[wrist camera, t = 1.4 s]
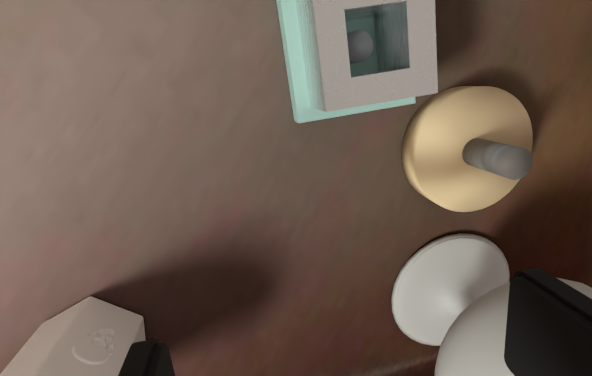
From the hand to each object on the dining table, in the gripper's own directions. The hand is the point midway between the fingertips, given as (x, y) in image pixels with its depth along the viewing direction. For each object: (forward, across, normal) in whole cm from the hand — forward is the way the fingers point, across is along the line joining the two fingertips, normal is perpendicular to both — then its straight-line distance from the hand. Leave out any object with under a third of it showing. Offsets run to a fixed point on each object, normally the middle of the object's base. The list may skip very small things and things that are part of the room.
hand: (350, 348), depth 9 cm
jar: (+20, +17, +12) cm, 29 cm away
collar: (+18, -6, -9) cm, 21 cm away
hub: (+20, -16, 0) cm, 26 cm away
